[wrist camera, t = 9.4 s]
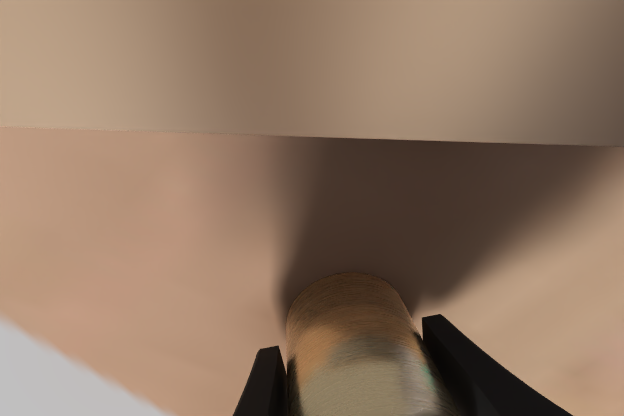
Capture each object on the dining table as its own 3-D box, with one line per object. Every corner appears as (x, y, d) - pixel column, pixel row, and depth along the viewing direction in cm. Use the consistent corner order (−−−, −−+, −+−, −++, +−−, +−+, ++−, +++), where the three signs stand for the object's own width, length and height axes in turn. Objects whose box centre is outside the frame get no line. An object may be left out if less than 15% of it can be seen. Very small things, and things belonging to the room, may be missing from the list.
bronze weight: (413, 271, 12) (497, 403, 7) (395, 365, 14) (454, 519, 9) (286, 272, 12) (291, 412, 7) (285, 369, 13) (287, 532, 9)
